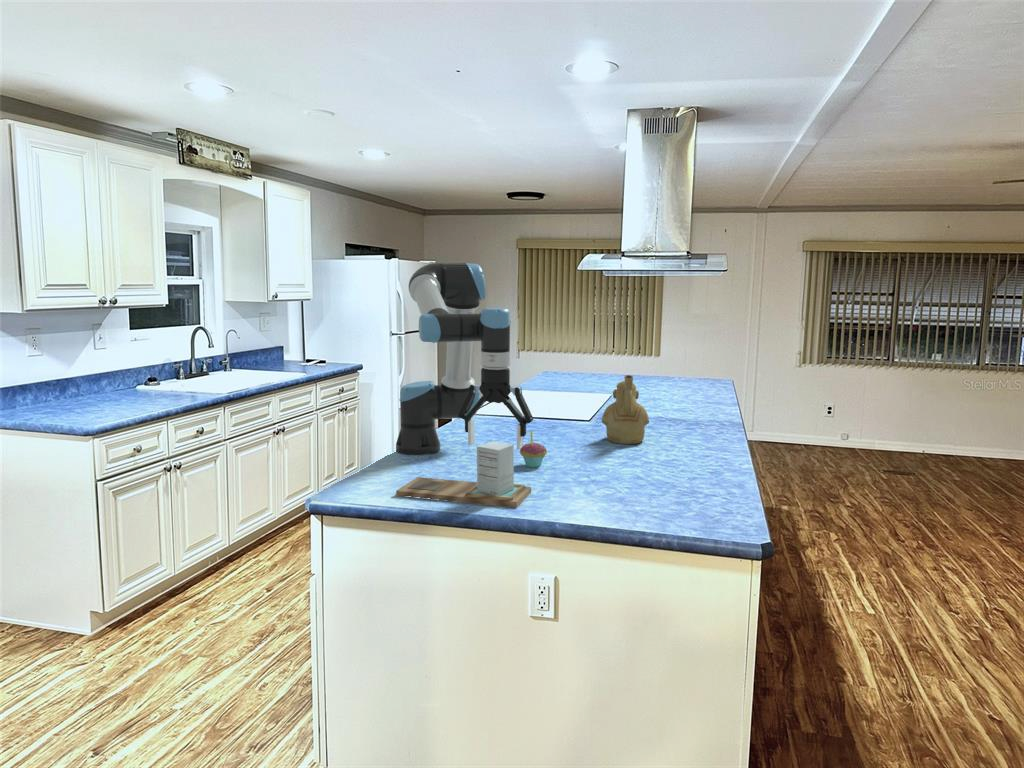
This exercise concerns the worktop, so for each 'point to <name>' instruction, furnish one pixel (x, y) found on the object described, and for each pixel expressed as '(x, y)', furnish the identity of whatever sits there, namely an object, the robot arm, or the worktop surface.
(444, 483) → the board
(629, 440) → the ceramic vessel
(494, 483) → the supplement box
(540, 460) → the cupcake
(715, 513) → the worktop surface
